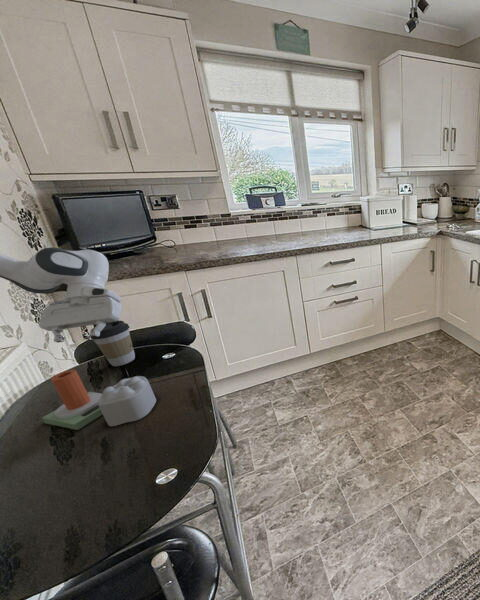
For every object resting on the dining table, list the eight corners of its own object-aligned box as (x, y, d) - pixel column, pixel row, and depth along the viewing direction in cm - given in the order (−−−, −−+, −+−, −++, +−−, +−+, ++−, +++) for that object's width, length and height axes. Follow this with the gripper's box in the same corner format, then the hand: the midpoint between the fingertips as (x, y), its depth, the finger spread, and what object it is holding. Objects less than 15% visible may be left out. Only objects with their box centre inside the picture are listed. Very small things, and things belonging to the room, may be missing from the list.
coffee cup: (145, 358, 124) (130, 323, 119) (107, 373, 116) (89, 335, 111) (138, 350, 131) (123, 316, 126) (102, 363, 124) (84, 328, 118)
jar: (62, 408, 93) (46, 379, 90) (83, 397, 98) (68, 368, 94) (74, 410, 92) (58, 381, 88) (95, 399, 97) (80, 370, 93)
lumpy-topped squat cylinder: (102, 429, 88) (88, 402, 85) (123, 400, 100) (112, 376, 96) (146, 417, 91) (135, 392, 88) (162, 391, 102) (152, 367, 99)
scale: (44, 423, 92) (40, 415, 91) (92, 396, 103) (88, 389, 102) (77, 430, 88) (73, 422, 87) (123, 401, 99) (119, 394, 98)
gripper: (38, 298, 99) (26, 341, 93) (113, 288, 102) (106, 329, 96) (56, 306, 104) (46, 348, 99) (127, 297, 107) (121, 336, 102)
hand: (76, 339), depth 97 cm, fingers open, 8 cm apart
